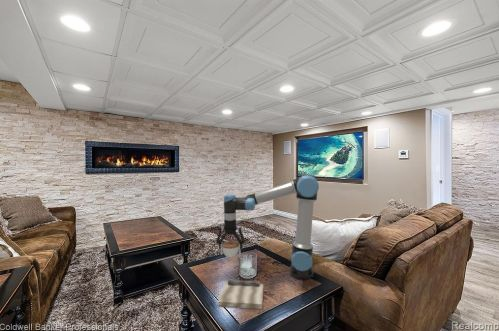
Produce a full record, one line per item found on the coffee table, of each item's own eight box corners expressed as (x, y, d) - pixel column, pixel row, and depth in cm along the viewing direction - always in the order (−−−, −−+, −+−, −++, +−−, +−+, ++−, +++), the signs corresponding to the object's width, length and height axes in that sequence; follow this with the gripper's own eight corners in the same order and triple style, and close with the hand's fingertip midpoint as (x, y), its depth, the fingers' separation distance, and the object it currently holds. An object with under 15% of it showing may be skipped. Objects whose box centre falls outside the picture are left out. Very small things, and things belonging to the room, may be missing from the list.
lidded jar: (237, 259, 135) (236, 244, 135) (220, 258, 137) (219, 243, 137) (241, 252, 145) (240, 238, 145) (225, 252, 147) (225, 237, 147)
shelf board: (263, 288, 128) (263, 280, 128) (261, 309, 110) (261, 299, 110) (225, 286, 130) (225, 279, 130) (218, 306, 112) (218, 297, 112)
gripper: (249, 217, 143) (249, 252, 144) (213, 217, 146) (214, 251, 146) (247, 220, 136) (248, 257, 136) (210, 220, 138) (211, 256, 138)
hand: (230, 254), depth 141 cm, fingers closed on lidded jar, 11 cm apart
